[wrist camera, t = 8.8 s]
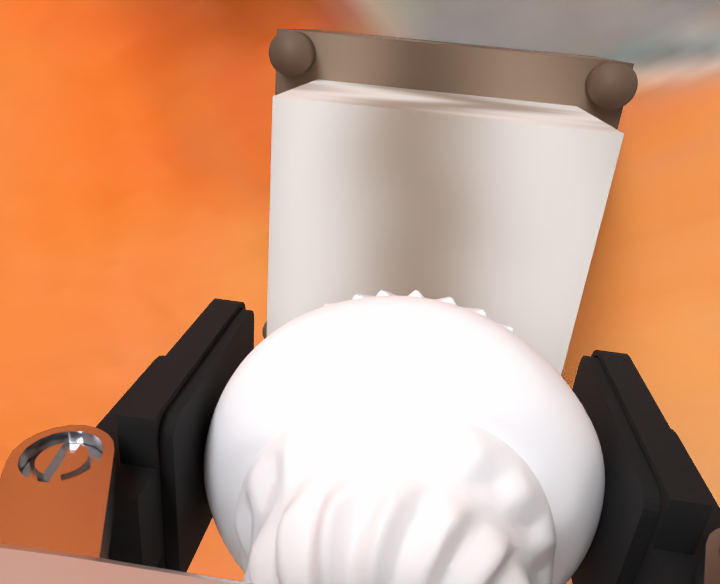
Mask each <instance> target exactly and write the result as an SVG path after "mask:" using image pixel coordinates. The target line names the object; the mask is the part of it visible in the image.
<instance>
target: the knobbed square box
mask: <svg viewBox="0 0 720 584" xmlns="http://www.w3.org/2000/svg"><path fill="white" fill-rule="evenodd" d="M269 58H270V61H271V64H272V65H273V67H274V68H275V69H276V88H275V96H273V107H272V145H271V184H270V223H269V261H268V300H267V322H266V323H265V325H264V327H263V337H264V339H265V338H266V337H268V336H269V335H270V334H271V333H273V332H274V331H275V330H277V329H278V328H280V327H281V326H283V325H284V324H286V323H287V322H289V321H291V320H293V319H295V318H297V317H299V316H301V315H303V314H305V313H308V312H310V311H312V310H315V309H318V308H321V307H323V306H324V305H325V304H331V303H338V302H342V301H347V300H352V299H353V297H354V296H355V295H356V294H363V295H370V296H376V295H377V294H378V292H379V291H380V290H384V291H387V292H390V293H392V294H394V295H396V296H408V295H409V294H411V293H412V292H413V291H415V290H417V291H419V292H420V293H421V294H422V295H423V297H424V298H429V299H435V300H436V299H440V298H446V297H452V298H453V299H454V301H455V303H456V305H457V306H460V307H464V308H477V309H483V310H484V311H485V313H486V316H487V318H489V319H491V320H493V321H495V322H497V323H498V324H502V325H506V326H510V327H511V328H513V329H514V333H515V334H516V335H517V336H519V337H520V338H521V339H523V340H524V341H526V342H527V343H528V344H529V345H531V346H532V347H533V348H534V349H536V350H537V351H538V352H539V353H540V354H541V355H542V356H543V357H544V358H545V359H546V360H547V361H548V362H549V363H550V364H551V365H552V366H553V367H554V368H555V369H556V370H557V371H558V373H559V374H560V375H561V376H562V373H563V366H564V362H565V359H566V355H567V351H568V347H569V343H570V339H571V336H572V332H573V328H574V324H575V320H576V316H577V313H578V309H579V305H580V301H581V297H582V294H583V290H584V286H585V282H586V278H587V274H588V271H589V267H590V263H591V259H592V255H593V251H594V248H595V244H596V240H597V236H598V232H599V228H600V225H601V221H602V217H603V213H604V209H605V205H606V202H607V198H608V194H609V190H610V186H611V182H612V179H613V175H614V171H615V167H616V163H617V159H618V156H619V152H620V148H621V144H622V140H623V136H624V133H622V132H620V131H618V130H617V128H618V124H619V120H620V116H621V113H622V109H623V106H624V105H626V104H627V103H628V102H629V101H630V100H631V99H632V98H633V96H634V95H635V93H636V90H637V86H638V80H637V76H636V73H635V72H634V70H633V66H634V64H632V63H627V62H621V61H615V60H610V59H604V58H599V57H593V56H582V55H572V54H562V53H551V52H541V51H531V50H520V49H510V48H499V47H489V46H479V45H468V44H458V43H448V42H437V41H427V40H416V39H406V38H396V37H385V36H375V35H365V34H354V33H344V32H333V31H323V30H313V29H277V35H276V36H275V37H274V38H273V40H272V42H271V44H270V47H269Z"/></svg>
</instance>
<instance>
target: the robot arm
mask: <svg viewBox="0 0 720 584" xmlns="http://www.w3.org/2000/svg"><path fill="white" fill-rule="evenodd" d="M253 349H254V313H253V311H250V310H246V309H245V304H244V303H243V302H237V301H230V300H222V299H214V300H213V301H212V302H211V303H210V304H209V305H208V307H207V308H206V309H205V310H204V311H203V313H202V314H201V315H200V316H199V317H198V318H197V320H196V321H195V322H194V323H193V324H192V325H191V327H190V328H189V329H188V330H187V331H186V332H185V334H184V335H183V336H182V337H181V338H180V340H179V341H178V342H177V343H176V344H175V345H174V347H173V348H172V349H171V350H170V351H169V352H168V354H167V355H166V356H159V357H158V358H156V359H155V360H154V361H153V362H152V364H151V365H150V366H149V367H148V368H147V369H146V370H145V372H144V373H143V374H142V375H141V376H140V377H139V378H138V380H137V381H136V382H135V383H134V384H133V385H132V386H131V388H130V389H129V390H128V391H127V392H126V393H125V394H124V396H123V397H122V398H121V399H120V400H119V401H118V402H117V404H116V405H115V406H114V407H113V408H112V409H111V410H110V412H109V413H108V414H107V415H106V416H105V417H104V418H103V420H102V421H101V422H100V423H99V424H98V425H97V426H96V428H95V427H91V426H86V425H67V426H62V427H56V428H52V429H49V430H46V431H43V432H40V433H37V434H35V435H34V436H32V437H30V438H28V439H26V440H24V441H23V442H22V443H21V444H20V445H18V446H17V447H16V448H15V449H14V450H13V451H12V453H11V454H10V456H9V457H8V459H7V461H6V463H5V466H4V469H3V471H2V474H1V477H0V584H253V583H247V582H241V581H235V580H229V579H223V578H217V577H211V576H205V575H199V574H193V573H187V572H186V571H187V570H188V568H189V566H190V563H191V561H192V559H193V557H194V555H195V553H196V551H197V549H198V547H199V544H200V542H201V540H202V538H203V536H204V534H205V532H206V530H207V528H208V525H209V523H210V521H211V519H212V517H213V516H212V513H211V510H210V506H209V503H208V499H207V495H206V490H205V483H204V471H203V463H204V451H205V444H206V439H207V434H208V430H209V426H210V423H211V419H212V417H213V414H214V411H215V408H216V406H217V403H218V401H219V399H220V397H221V394H222V392H223V390H224V388H225V386H226V385H227V383H228V381H229V380H230V378H231V377H232V375H233V374H234V372H235V371H236V369H237V368H238V367H239V365H240V364H241V363H242V361H243V360H244V359H245V358H246V357H247V355H248V354H249V353H250V352H251V351H252V350H253ZM572 391H573V392H574V393H575V395H576V396H577V398H578V399H579V401H580V402H581V404H582V405H583V407H584V409H585V411H586V413H587V415H588V416H589V418H590V420H591V422H592V424H593V426H594V429H595V431H596V434H597V436H598V439H599V442H600V446H601V450H602V454H603V460H604V467H605V492H604V500H603V507H602V511H601V516H600V520H599V523H598V526H597V530H596V533H595V535H594V538H593V540H592V543H591V545H590V547H589V549H588V551H587V553H586V555H585V557H584V559H583V561H582V562H581V564H580V565H579V567H578V568H577V570H576V571H575V573H574V574H573V575H572V577H571V578H572V583H573V584H720V508H719V506H718V505H717V503H716V501H715V499H714V498H713V496H712V494H711V492H710V491H709V489H708V487H707V486H706V484H705V482H704V480H703V479H702V477H701V475H700V473H699V472H698V470H697V468H696V466H695V465H694V463H693V461H692V459H691V458H690V456H689V454H688V453H687V451H686V449H685V447H684V446H683V444H682V442H681V440H680V439H679V437H678V435H677V434H676V433H675V432H674V430H672V429H670V427H669V425H668V423H667V422H666V420H665V418H664V416H663V415H662V413H661V411H660V409H659V408H658V406H657V404H656V402H655V401H654V399H653V397H652V395H651V393H650V392H649V390H648V388H647V386H646V385H645V383H644V381H643V379H642V378H641V376H640V374H639V372H638V371H637V369H636V367H635V365H634V364H633V362H632V360H631V358H630V357H629V355H628V354H623V353H615V352H608V351H601V350H595V351H594V352H593V354H592V355H591V357H589V356H583V357H582V359H581V361H580V364H579V368H578V371H577V375H576V379H575V382H574V386H573V390H572Z"/></svg>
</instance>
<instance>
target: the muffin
mask: <svg viewBox="0 0 720 584" xmlns="http://www.w3.org/2000/svg"><path fill="white" fill-rule="evenodd" d="M203 471H204V483H205V490H206V495H207V499H208V503H209V506H210V510H211V513H212V516H213V518H214V521H215V524H216V526H217V528H218V531H219V533H220V535H221V537H222V539H223V541H224V543H225V545H226V547H227V548H228V550H229V552H230V553H231V555H232V556H233V558H234V559H235V561H236V562H237V564H238V565H239V566H240V567H241V569H242V570H243V571H244V572H245V576H244V580H243V582H247V583H253V584H565V583H566V582H567V581H568V580H569V579H570V578H571V577H572V575H573V574H574V573H575V571H576V570H577V568H578V567H579V565H580V564H581V562H582V561H583V559H584V557H585V555H586V553H587V551H588V549H589V547H590V545H591V543H592V540H593V538H594V535H595V533H596V530H597V526H598V523H599V520H600V516H601V511H602V507H603V500H604V492H605V467H604V460H603V454H602V450H601V446H600V442H599V439H598V436H597V434H596V431H595V429H594V426H593V424H592V422H591V420H590V418H589V416H588V415H587V413H586V411H585V409H584V407H583V405H582V404H581V402H580V401H579V399H578V398H577V396H576V395H575V393H574V392H573V391H572V389H571V388H570V387H569V385H568V384H567V383H566V381H565V380H564V379H563V378H562V376H561V375H560V374H559V373H558V371H557V370H556V369H555V368H554V367H553V366H552V365H551V364H550V363H549V362H548V361H547V360H546V359H545V358H544V357H543V356H542V355H541V354H540V353H539V352H538V351H537V350H536V349H534V348H533V347H532V346H531V345H529V344H528V343H527V342H526V341H524V340H523V339H521V338H520V337H519V336H517V335H516V334H515V333H514V329H513V328H511V327H510V326H506V325H502V324H498V323H497V322H495V321H493V320H491V319H489V318H487V316H486V313H485V311H484V310H483V309H477V308H464V307H460V306H457V305H456V303H455V301H454V299H453V298H452V297H446V298H440V299H436V300H435V299H429V298H424V297H423V295H422V294H421V293H420V292H419V291H417V290H415V291H413V292H412V293H411V294H409V295H408V296H396V295H394V294H392V293H390V292H387V291H384V290H380V291H379V292H378V294H377V295H376V296H370V295H363V294H356V295H355V296H354V297H353V299H352V300H347V301H342V302H338V303H331V304H325V305H324V306H323V307H321V308H318V309H315V310H312V311H310V312H308V313H305V314H303V315H301V316H299V317H297V318H295V319H293V320H291V321H289V322H287V323H286V324H284V325H283V326H281V327H280V328H278V329H277V330H275V331H274V332H273V333H271V334H270V335H269V336H268V337H266V338H265V339H264V340H263V341H262V342H261V343H259V344H258V345H257V346H256V347H255V348H254V349H253V350H252V351H251V352H250V353H249V354H248V355H247V357H246V358H245V359H244V360H243V361H242V363H241V364H240V365H239V367H238V368H237V369H236V371H235V372H234V374H233V375H232V377H231V378H230V380H229V381H228V383H227V385H226V386H225V388H224V390H223V392H222V394H221V397H220V399H219V401H218V403H217V406H216V408H215V411H214V414H213V417H212V419H211V423H210V426H209V430H208V434H207V439H206V444H205V451H204V463H203Z"/></svg>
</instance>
